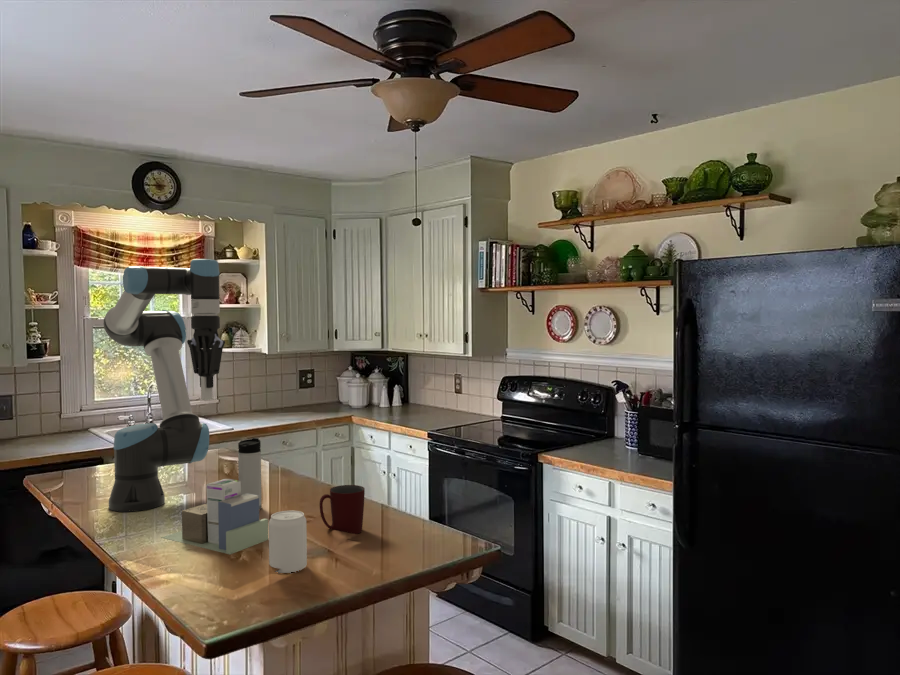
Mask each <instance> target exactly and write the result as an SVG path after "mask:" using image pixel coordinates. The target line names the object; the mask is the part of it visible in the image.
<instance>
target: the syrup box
mask: <svg viewBox="0 0 900 675" xmlns="http://www.w3.org/2000/svg"><path fill="white" fill-rule="evenodd" d="M205 488H206V503H207V521H208V542H209V543H213V544H217V545H219V521H218V502H220V501H223V500H226V499H230V498H233V497H236V496H240V495H241V482H240V481H239V479H238V480H237V479H232V478H223V479H221V480H216V481H213V482H209V483H206V487H205Z"/></svg>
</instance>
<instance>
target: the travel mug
mask: <svg viewBox="0 0 900 675" xmlns="http://www.w3.org/2000/svg"><path fill="white" fill-rule="evenodd" d="M261 442H262V441H261V440H260V439H259V438H258V437H252V438H250V439H244V440H243V439H242V440H241V441H239V442H238V443H237V444H238V445H237V446H238V452H237V453H238V455H237V458H238V460H237V462H238V466H237V468H238V470H237V472H238V481H240V482H241V495H243V494H246V493H248V494H254V495H259V510H261V509H262V506H263V505H262V454H261V453H262V451H261V450H262V449H261V447H262V446H261Z"/></svg>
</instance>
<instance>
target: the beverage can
mask: <svg viewBox="0 0 900 675" xmlns="http://www.w3.org/2000/svg"><path fill="white" fill-rule="evenodd" d="M307 542H308V541H307V518H306V517H305V513H304V512H303V511H301V510H282V511H277V512H274V513H272V514H271V515H270V519H269V520H268V563H269V566H270V567H271V568H275V569H277V570H275V571H274V573H276V572H278V573H277V574H280V573H290V574H292V573H291V572H295V573H297V572H296V571H298V572H300V571H301V570H303V569H304V568H306V567H307V565H308V557H307V556H308V552H307V551H308V549H307V547H308V546H307V544H308V543H307ZM299 570H300V571H299Z"/></svg>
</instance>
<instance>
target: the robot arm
mask: <svg viewBox="0 0 900 675" xmlns="http://www.w3.org/2000/svg"><path fill="white" fill-rule="evenodd" d="M189 265H190V266H189V268H188V267H162V266H161V267H160V266H159V267H157V266H142V265H138V266H127V267H125V269H124V270H123V275H122V288H123V292H122V294H121V295H120V297H119V299H118V300H117V302H116V304H115V305H114V306H113V307H111V308H110V309H108V310H107V313H106V314H105V316H104V319H103V327H104V328H103V329H104V331H105V333H106V334H107V336H108V337H109V338H110V339H111V340H113V341H114V342H115V343H117V344H119V345H123V346H125V347H143V350H144V352H145V354H146V355H148V356H149V357H150V358H151V363H152V368H153V372H154V379H155V384H156V389H157V394H158V398H159V404H160V408H161V414H162V418H163V420H161V422H160V423H159V426H158V425H157V424H156V423H155V422H154V423H153V422H148V423H147V422H146V423H139V424H134V425H130V426H126V427H123V428H121V429H119V430H117V431H116V432H115V434H114V437H113V438H114V439H113V446H112V448H113V449H112V450H113V453H114V454H113V455H114V456H113V457H114V459H113V460H114V461H113V462H114V465H113V466H114V482H113V485H112V489H111V492H110V496H109V499H108V509H109V510H111V511H114V512H140V511H147V510H150V509H155V508H158V507H160V506H163V505H164V504H165V501H166V499H165V493H164V490H163V486H162V484H161V482H160V479H159V473H158V471H159V470H158V469H159V468H160V467H168V466H169V467H170V466H177V465H183V464H192V463H196V462H201V461H203V460H204V459H205V458H206V456H207V454H208V451H209V448H210V428H209V426H208V424H207V423H205V422H200V418H199V416H198V414H196V413H193V409H192V405H191V400H190V396H189V395H190V394H189V391H188V387H187V382H186V378H185V372H184V368H183V365H182V359H181V355H180V350H182V348H183V345H184V344H185V343H187V345H188V348H189V352H190V357H191V363H192V367H193V368H192V369H193V370H192V371H193V373H194V374H196V375H198V376H199V387H200V401H208V400H209V401H210V400H213V388H214V376H215V375H218V374H219V373H220V367H221V361H222V356H223V355H222V354H223V348H224V347H225V344H226V341H225V339H221V338H220V336H219V332H218V329H220V327H221V321H220V320H221V316H219V314H220V313H221V310H220V309H221V307H220V303H221V302H220V273H221V272H220V266H219V262H218V260H216V259H210V258H209V259H208V258H194V259H191V260H190V263H189ZM155 295H186V296H190V310H191V311H190V312H191V314H192V316H191V317H190V320H191V322H190V324H191V325H190V327H191V329H192V330H193V335H192V336H193V337H192V338H191V339H187V341H186V338H187V332H186V330H187V329H186V324H185V321H184V318H183V317H182V315H181V314H180V313H179V312H177V311H174V310H166V309H163V310H146V309H147V307H148V305H149V304H150V303H151V301H152V299H153V298H154V297H155ZM185 341H186V342H185Z"/></svg>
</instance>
